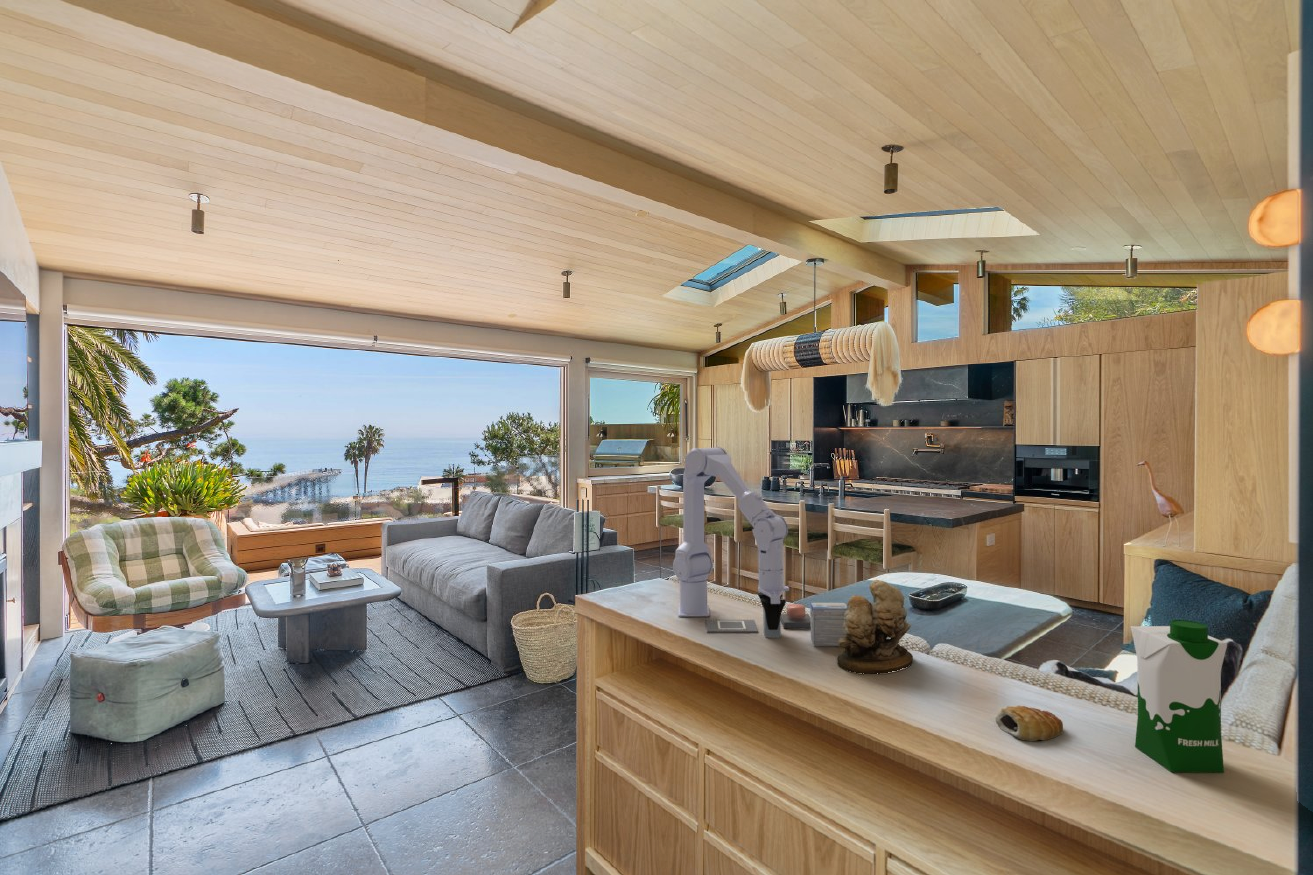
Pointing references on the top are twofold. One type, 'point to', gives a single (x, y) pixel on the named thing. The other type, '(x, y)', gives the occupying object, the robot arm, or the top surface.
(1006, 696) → the top surface
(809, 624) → the button base
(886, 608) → the owl figurine
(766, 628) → the grey rectangular block
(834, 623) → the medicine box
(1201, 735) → the milk carton
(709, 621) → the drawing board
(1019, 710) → the pastry
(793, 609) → the button
